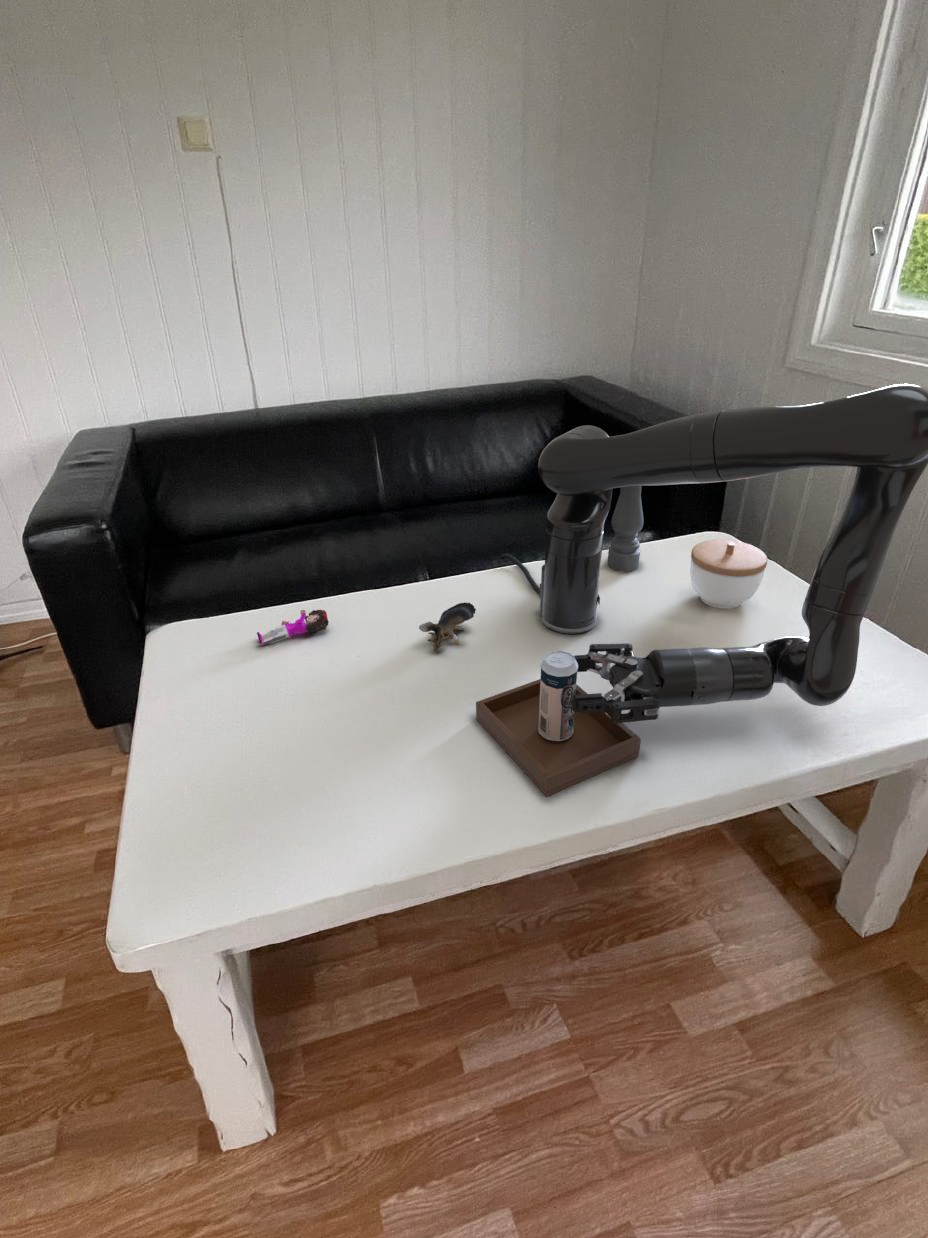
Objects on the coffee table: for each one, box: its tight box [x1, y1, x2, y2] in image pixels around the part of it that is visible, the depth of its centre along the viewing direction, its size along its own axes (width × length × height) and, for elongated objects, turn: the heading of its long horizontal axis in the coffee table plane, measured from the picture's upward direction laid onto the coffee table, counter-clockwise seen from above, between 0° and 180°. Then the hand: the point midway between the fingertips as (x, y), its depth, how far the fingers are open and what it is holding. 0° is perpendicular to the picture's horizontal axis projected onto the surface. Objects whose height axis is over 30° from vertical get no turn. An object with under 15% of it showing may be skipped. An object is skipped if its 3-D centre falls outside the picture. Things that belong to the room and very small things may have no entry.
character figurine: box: [256, 609, 330, 647], centre depth 118 cm, size 6×5×12 cm
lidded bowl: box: [689, 539, 768, 610], centre depth 124 cm, size 13×13×11 cm
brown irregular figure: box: [418, 601, 477, 653], centre depth 115 cm, size 8×7×9 cm
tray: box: [475, 678, 642, 797], centre depth 94 cm, size 18×15×3 cm
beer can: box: [538, 650, 578, 741], centre depth 92 cm, size 5×5×12 cm
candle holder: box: [606, 486, 645, 573], centre depth 133 cm, size 6×6×25 cm
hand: (565, 683), depth 91 cm, fingers open, 8 cm apart
